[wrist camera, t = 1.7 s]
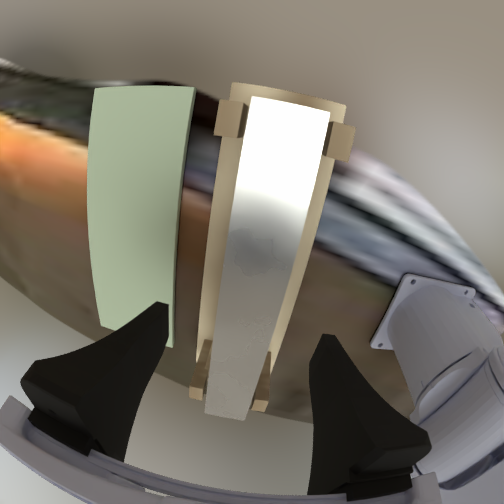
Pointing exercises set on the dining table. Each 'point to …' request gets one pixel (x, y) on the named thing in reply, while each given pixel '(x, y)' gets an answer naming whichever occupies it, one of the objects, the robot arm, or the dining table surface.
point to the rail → (261, 245)
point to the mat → (136, 197)
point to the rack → (232, 132)
